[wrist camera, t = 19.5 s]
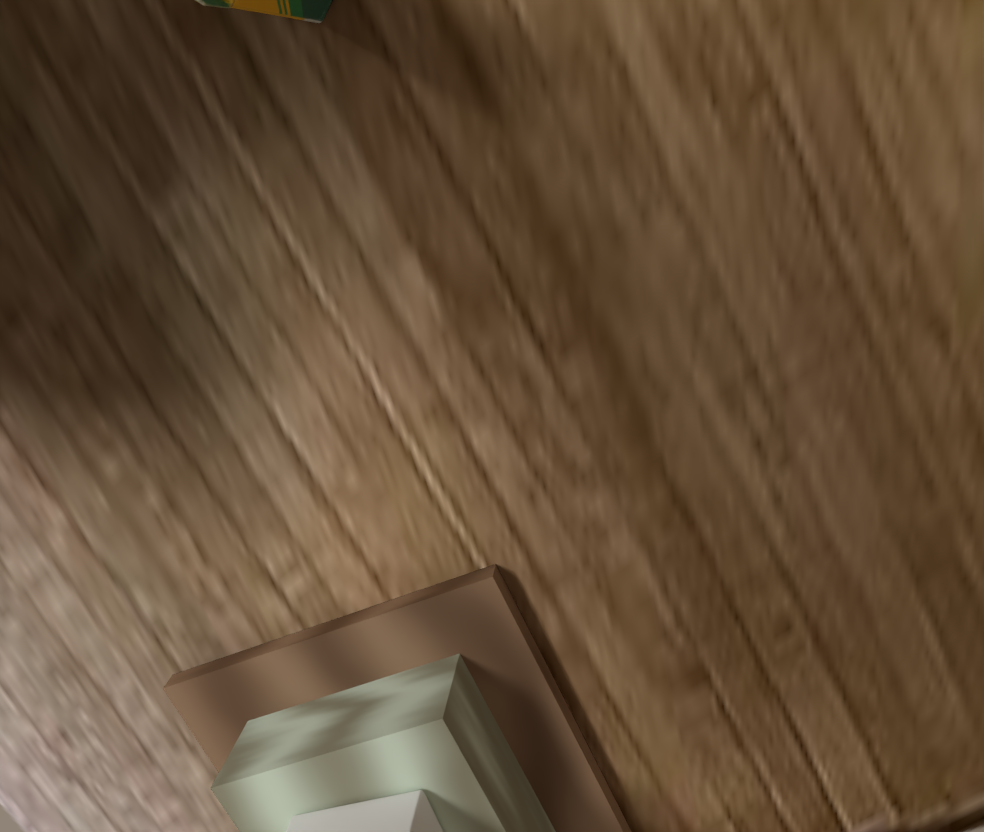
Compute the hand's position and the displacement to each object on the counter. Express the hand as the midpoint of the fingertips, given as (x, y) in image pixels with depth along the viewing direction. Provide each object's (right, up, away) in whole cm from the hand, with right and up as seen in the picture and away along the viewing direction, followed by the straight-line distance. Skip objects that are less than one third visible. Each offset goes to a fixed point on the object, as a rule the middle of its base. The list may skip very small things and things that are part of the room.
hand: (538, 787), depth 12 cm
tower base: (-5, -15, +40) cm, 43 cm away
